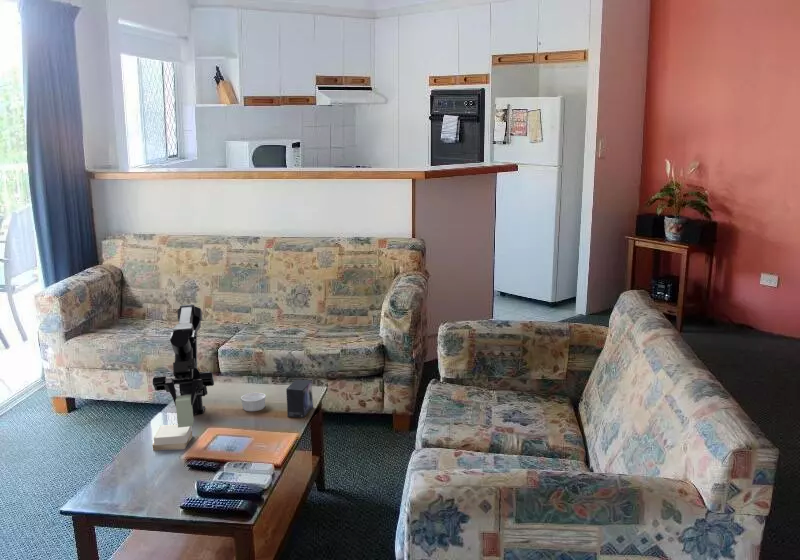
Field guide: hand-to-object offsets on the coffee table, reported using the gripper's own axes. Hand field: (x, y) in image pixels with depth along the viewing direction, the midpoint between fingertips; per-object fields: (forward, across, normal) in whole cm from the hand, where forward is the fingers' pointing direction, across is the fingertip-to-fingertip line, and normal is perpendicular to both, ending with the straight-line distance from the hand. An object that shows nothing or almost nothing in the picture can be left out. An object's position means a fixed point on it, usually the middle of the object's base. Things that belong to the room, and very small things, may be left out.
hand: (183, 405), depth 239 cm
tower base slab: (+8, -5, +12) cm, 15 cm away
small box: (-3, +37, +23) cm, 44 cm away
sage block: (+4, 0, +5) cm, 7 cm away
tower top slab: (+6, -5, +10) cm, 13 cm away
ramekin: (-10, +21, +30) cm, 38 cm away
